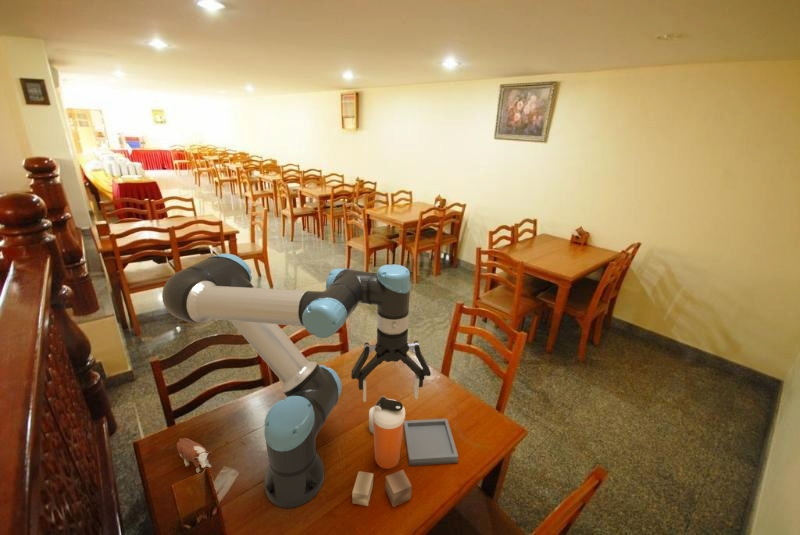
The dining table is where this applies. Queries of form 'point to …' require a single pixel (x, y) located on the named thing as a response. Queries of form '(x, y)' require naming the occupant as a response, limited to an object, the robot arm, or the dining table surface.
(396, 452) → the shaker bottle
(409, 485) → the walnut block
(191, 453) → the bull figurine
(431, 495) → the dining table surface
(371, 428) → the ceramic shaker
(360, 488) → the oak block
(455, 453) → the tray
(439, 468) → the dining table surface
